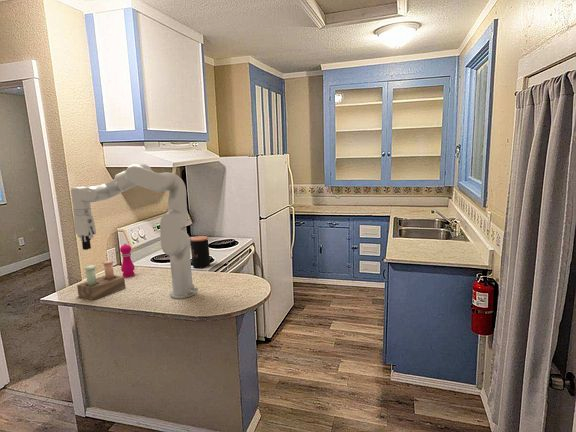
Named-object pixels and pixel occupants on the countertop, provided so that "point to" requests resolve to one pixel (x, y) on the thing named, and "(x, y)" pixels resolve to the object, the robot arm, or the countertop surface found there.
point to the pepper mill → (127, 261)
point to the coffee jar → (200, 252)
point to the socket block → (101, 287)
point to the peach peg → (108, 269)
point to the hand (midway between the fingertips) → (86, 249)
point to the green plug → (90, 275)
